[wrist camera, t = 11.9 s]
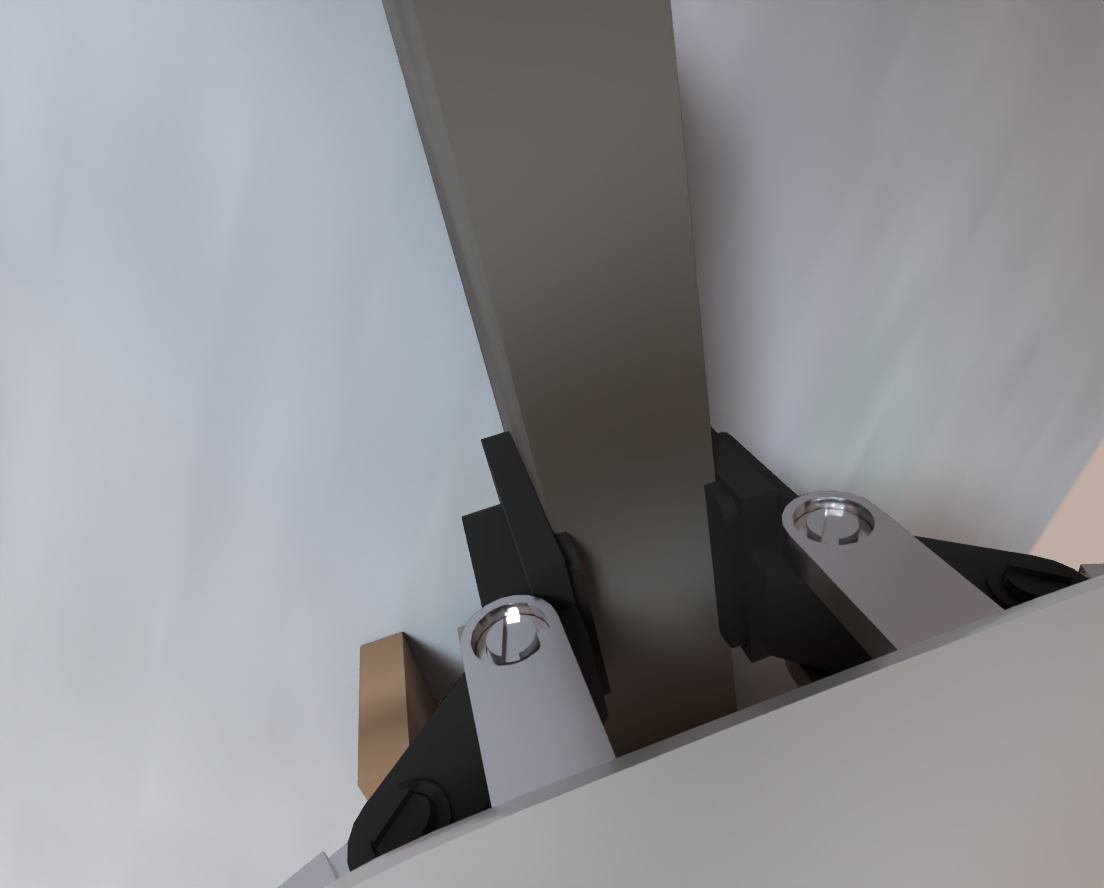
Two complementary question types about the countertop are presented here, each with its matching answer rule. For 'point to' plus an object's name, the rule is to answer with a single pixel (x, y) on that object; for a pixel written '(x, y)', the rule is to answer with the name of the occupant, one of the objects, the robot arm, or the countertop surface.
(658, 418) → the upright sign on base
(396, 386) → the countertop surface
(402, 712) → the bay
